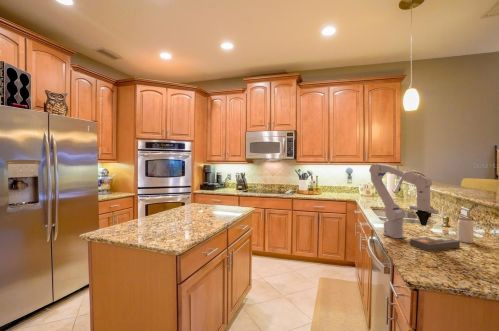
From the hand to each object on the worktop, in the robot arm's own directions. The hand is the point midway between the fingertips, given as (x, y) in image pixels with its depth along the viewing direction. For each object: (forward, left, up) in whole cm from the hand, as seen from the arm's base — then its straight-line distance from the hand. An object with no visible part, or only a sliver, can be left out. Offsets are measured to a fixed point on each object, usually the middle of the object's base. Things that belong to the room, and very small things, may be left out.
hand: (423, 225), depth 129 cm
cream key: (+5, +1, -7) cm, 9 cm away
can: (+4, +24, -10) cm, 26 cm away
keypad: (+5, +1, -9) cm, 11 cm away
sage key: (+5, +8, -8) cm, 12 cm away
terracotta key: (+5, -5, -8) cm, 11 cm away
